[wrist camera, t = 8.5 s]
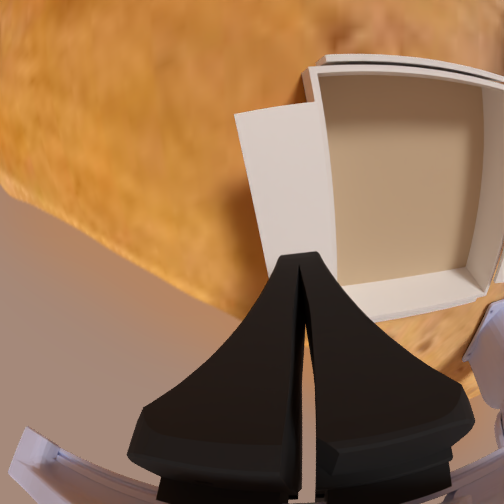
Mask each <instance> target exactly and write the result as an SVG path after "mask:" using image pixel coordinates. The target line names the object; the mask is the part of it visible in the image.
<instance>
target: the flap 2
mask: <svg viewBox="0 0 504 504" xmlns="http://www.w3.org/2000/svg"><path fill="white" fill-rule="evenodd" d="M493 281H494V283H502V282H504V249H503V252H502V255H501V259H500V262H499V265H498V268H497V271H496V274H495V277H494V280H493Z"/></svg>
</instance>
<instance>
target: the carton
mask: <svg viewBox="0 0 504 504" xmlns="http://www.w3.org/2000/svg"><path fill="white" fill-rule="evenodd" d="M301 74H302V79H303V84H304V90H305V95H306V101H307V102H317V104H318V110H319V117H320V123H321V130H322V137H323V145H324V153H325V161H326V170H327V180H328V191H329V202H330V215H331V230H332V249H333V276H334V278H335V279H336V280H337V282H338V283H339V284H340V286H341V287H342V288H343V290H344V291H345V292H346V293H347V294H348V296H349V297H350V298H351V299H352V300H353V301H354V302H355V304H356V305H357V306H358V307H359V308H360V309H361V310H362V311H363V312H364V313H365V314H366V315H367V316H368V317H369V318H370V319H371V320H372V321H373V322H374V323H375V322H381V321H387V320H392V319H398V318H404V317H409V316H414V315H419V314H424V313H429V312H433V311H438V310H442V309H447V308H451V307H455V306H459V305H463V304H467V303H471V302H475V301H476V299H477V298H478V297H482V296H486V294H487V291H488V289H489V286H490V283H491V280H492V278H493V275H494V272H495V269H496V266H497V262H498V259H499V256H500V252H501V249H502V245H503V241H504V85H503V84H500V83H496V82H493V81H500V82H504V76H501V75H497V74H494V73H491V72H487V71H484V70H480V69H476V68H472V67H468V66H464V65H459V64H454V63H449V62H444V61H438V60H431V59H424V58H416V57H407V56H396V55H379V54H333V55H324V56H323V57H322V58H321V59H320V60H318V61H317V62H316V66H314V67H308V68H307V69H306V70H305V71H303V72H302V73H301ZM489 80H493V81H489Z"/></svg>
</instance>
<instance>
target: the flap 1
mask: <svg viewBox="0 0 504 504" xmlns="http://www.w3.org/2000/svg"><path fill="white" fill-rule="evenodd" d="M234 117H235V122H236V126H237V131H238V135H239V140H240V144H241V149H242V153H243V158H244V163H245V167H246V172H247V177H248V181H249V186H250V191H251V195H252V200H253V205H254V209H255V214H256V219H257V224H258V228H259V233H260V238H261V243H262V248H263V253H264V257H265V262H266V267H267V272H268V277H269V278H270V276H271V274H272V272H273V270H274V267H275V265H276V262H277V260H278V258H279V257H280V255H286V254H295V253H304V252H313V251H317V252H318V253H319V254H320V256H321V258H322V259H323V261H324V263H325V265H326V266H327V268H328V269H329V271H330V272H331V274H332V275H333V249H332V230H331V215H330V202H329V191H328V180H327V170H326V161H325V153H324V145H323V137H322V130H321V123H320V117H319V110H318V104H317V102H307V103H298V104H291V105H284V106H277V107H271V108H265V109H259V110H253V111H248V112H243V113H238V114H234Z"/></svg>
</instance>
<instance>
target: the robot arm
mask: <svg viewBox="0 0 504 504" xmlns="http://www.w3.org/2000/svg"><path fill="white" fill-rule="evenodd" d="M305 324H306V330H307V336H308V342H309V348H310V354H311V361H312V367H313V374H314V383H315V406H316V490H315V491H316V492H315V502H316V503H296V504H420V503H423V502H426V501H429V500H432V499H435V498H438V497H440V496H443V495H445V494H447V496H446V497H445V499H444V501H443V502H442V503H439V504H504V299H502V300H499V301H496V302H493V303H491V304H490V305H489V306H488V309H487V311H486V313H485V315H484V317H483V320H482V322H481V324H480V326H479V328H478V330H477V332H476V334H475V336H474V338H473V340H472V342H471V343H470V345H469V347H468V349H467V351H466V353H465V354H464V356H463V358H462V361H463V362H466V361H469V363H470V366H471V368H472V371H473V373H474V376H475V378H476V381H477V384H478V386H479V389H480V392H481V395H482V397H483V399H484V401H485V402H486V403H487V404H488V405H489V406H490V407H492V408H495V409H500V412H499V413H498V415H497V418H496V421H495V437H496V442H497V445H498V448H499V449H498V450H496V451H494V452H493V453H491V454H489V455H487V456H485V457H483V458H481V459H479V460H477V461H475V462H473V463H471V464H468V465H466V466H464V467H462V468H459V469H457V470H455V471H452V472H450V468H449V461H451V460H452V458H453V455H452V449H451V446H453V445H454V444H455V443H456V442H458V441H459V440H460V439H461V438H462V437H464V436H465V435H466V434H467V433H468V432H469V431H470V430H471V429H472V427H473V425H474V423H475V418H474V415H473V411H472V408H471V405H470V402H469V400H468V397H467V395H466V393H465V391H464V389H463V387H462V385H461V384H460V383H458V382H456V381H454V380H452V379H451V378H449V377H447V376H445V375H444V374H442V373H440V372H438V371H437V370H435V369H433V368H431V367H430V366H428V365H427V364H425V363H424V362H422V361H421V360H420V359H418V358H417V357H415V356H414V355H412V354H411V353H410V352H409V351H407V350H406V349H405V348H403V347H402V346H401V345H400V344H398V343H397V342H396V341H394V340H393V339H392V338H391V337H389V336H388V335H387V334H386V333H385V332H384V331H383V330H382V329H380V328H379V327H378V326H377V325H376V324H375V323H374V322H373V321H372V320H371V319H370V318H369V317H368V316H367V315H366V314H365V313H364V312H363V311H362V310H361V309H360V308H359V307H358V306H357V305H356V304H355V302H354V301H353V300H352V299H351V298H350V297H349V296H348V294H347V293H346V292H345V291H344V290H343V288H342V287H341V286H340V284H339V283H338V282H337V280H336V279H335V278H334V276H333V275H332V274H331V272H330V271H329V269H328V268H327V266H326V265H325V263H324V261H323V259H322V258H321V256H320V254H319V253H318V252H317V251H313V252H304V253H295V254H286V255H280V257H279V258H278V260H277V262H276V265H275V267H274V270H273V272H272V274H271V276H270V278H269V280H268V282H267V284H266V285H265V287H264V289H263V291H262V293H261V294H260V296H259V298H258V299H257V301H256V302H255V304H254V305H253V307H252V308H251V310H250V311H249V313H248V314H247V316H246V317H245V318H244V320H243V321H242V322H241V324H240V325H239V326H238V328H237V329H236V330H235V331H234V332H233V334H232V335H231V336H230V337H229V338H228V339H227V340H226V342H225V343H224V344H223V345H222V346H221V347H220V348H219V349H218V350H217V351H216V352H215V353H214V354H213V355H212V356H211V357H210V358H209V359H208V360H207V361H206V362H205V363H204V364H202V365H201V366H200V367H199V368H198V369H197V370H195V371H194V372H193V373H192V374H191V375H189V376H188V377H187V378H186V379H185V380H183V381H182V382H181V383H180V384H178V385H177V386H176V387H174V388H173V389H171V390H170V391H168V392H167V393H165V394H164V395H162V396H161V397H159V398H158V399H157V400H155V401H153V402H152V403H150V404H148V405H147V406H145V407H143V410H142V412H141V414H140V417H139V419H138V421H137V424H136V427H135V430H134V433H133V436H132V439H131V442H130V446H129V449H128V452H127V456H128V458H129V459H130V460H131V461H132V462H134V463H135V464H137V465H138V466H140V467H142V468H144V469H146V470H148V471H150V472H152V473H154V474H156V475H159V476H161V480H160V484H159V487H157V486H154V485H151V484H147V483H144V482H141V481H138V480H135V479H132V478H128V477H126V476H123V475H120V474H117V473H115V472H112V471H110V470H107V469H105V468H102V467H100V466H98V465H95V464H93V463H91V462H89V461H87V460H84V459H82V458H80V457H78V456H76V455H74V454H72V453H70V452H68V451H66V450H64V449H62V448H61V447H59V446H58V445H57V444H55V443H54V442H52V441H51V440H49V439H48V438H46V437H45V436H43V435H42V434H40V433H38V432H37V431H35V430H34V429H32V428H30V427H29V426H26V428H25V430H24V432H23V434H22V437H21V440H20V442H19V444H18V446H17V449H16V451H15V454H14V457H13V459H12V462H11V465H10V468H9V470H8V473H9V475H10V476H11V477H12V478H13V479H14V480H15V481H16V482H17V483H18V484H19V485H20V486H22V488H24V490H26V492H28V493H29V494H30V496H31V497H32V498H33V499H34V500H35V501H36V502H37V503H38V504H288V500H289V499H290V500H293V499H298V492H299V491H300V490H301V489H302V371H303V357H304V341H305Z"/></svg>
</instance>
